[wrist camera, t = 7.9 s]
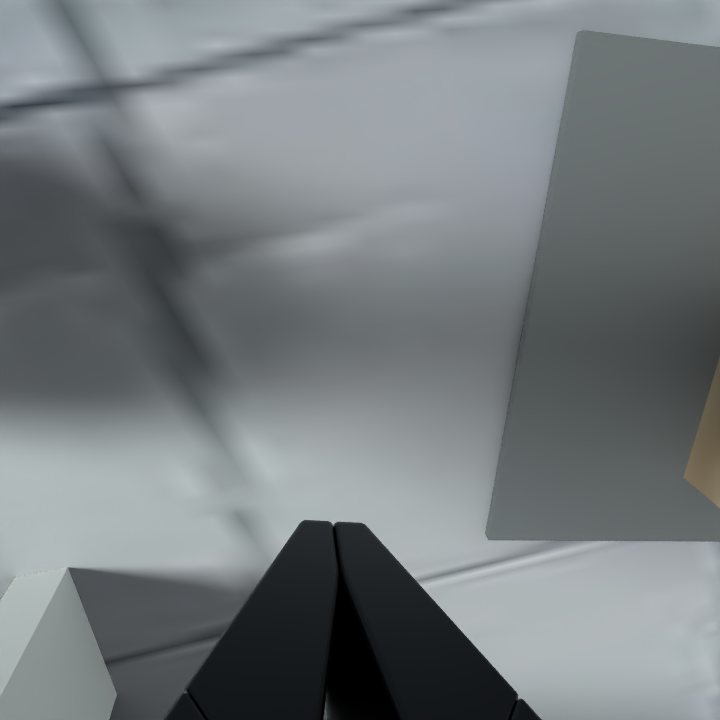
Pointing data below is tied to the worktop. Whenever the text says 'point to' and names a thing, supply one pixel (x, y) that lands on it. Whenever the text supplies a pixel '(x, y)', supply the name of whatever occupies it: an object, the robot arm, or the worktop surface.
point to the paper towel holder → (50, 653)
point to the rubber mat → (620, 305)
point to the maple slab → (707, 447)
